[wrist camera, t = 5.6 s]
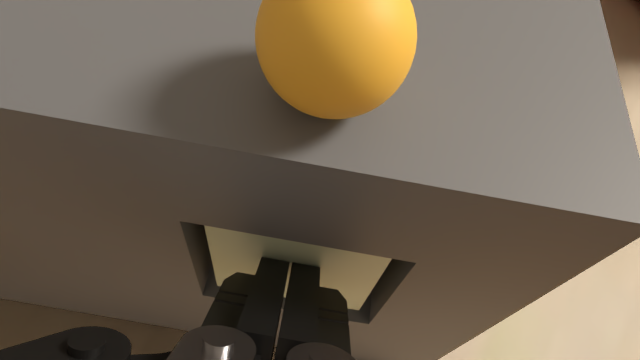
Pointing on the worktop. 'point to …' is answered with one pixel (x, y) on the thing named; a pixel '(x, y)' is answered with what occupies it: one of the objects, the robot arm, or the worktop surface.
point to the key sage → (296, 261)
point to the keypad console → (312, 153)
